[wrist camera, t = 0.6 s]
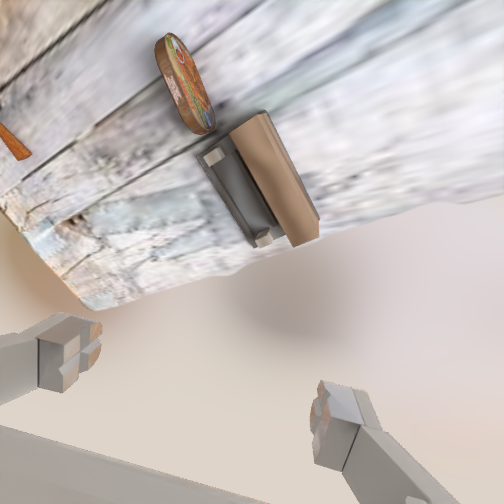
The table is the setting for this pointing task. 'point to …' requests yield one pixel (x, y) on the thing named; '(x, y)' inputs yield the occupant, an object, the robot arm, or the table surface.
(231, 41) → the table surface
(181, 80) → the tin
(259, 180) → the cabinet
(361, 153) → the table surface
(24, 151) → the kendama
